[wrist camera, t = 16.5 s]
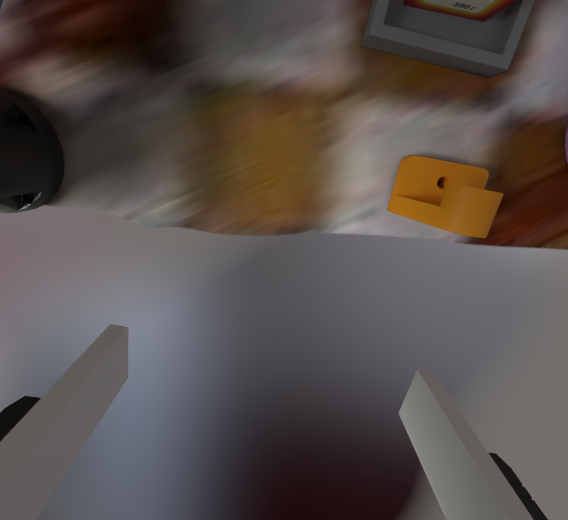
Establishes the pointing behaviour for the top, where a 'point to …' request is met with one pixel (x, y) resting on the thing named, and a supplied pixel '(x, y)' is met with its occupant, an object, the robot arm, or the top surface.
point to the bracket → (444, 195)
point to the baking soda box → (462, 7)
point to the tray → (447, 36)
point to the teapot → (566, 144)
